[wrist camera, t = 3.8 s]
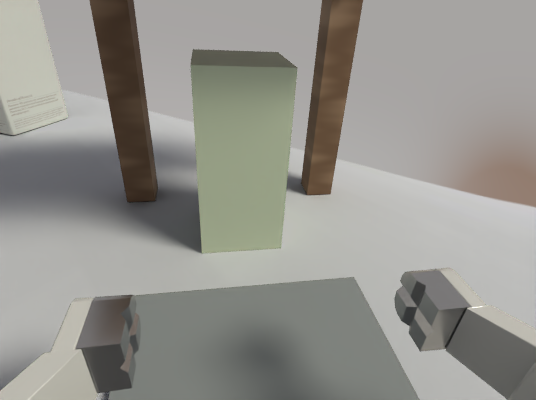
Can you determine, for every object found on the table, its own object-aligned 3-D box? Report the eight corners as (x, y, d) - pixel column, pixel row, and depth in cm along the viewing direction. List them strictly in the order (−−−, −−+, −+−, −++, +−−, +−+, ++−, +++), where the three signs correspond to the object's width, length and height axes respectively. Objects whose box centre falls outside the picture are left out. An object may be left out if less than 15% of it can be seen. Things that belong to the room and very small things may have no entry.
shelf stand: (91, 304, 17) (-64, -201, 8) (132, 189, 27) (82, -95, 18) (384, 279, 20) (509, -123, 11) (323, 182, 30) (361, -68, 21)
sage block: (201, 253, 21) (190, 65, 15) (201, 209, 25) (192, 49, 20) (280, 248, 22) (297, 67, 16) (268, 206, 26) (277, 52, 21)
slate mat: (70, 585, 9) (66, 581, 9) (132, 301, 18) (131, 295, 17) (466, 501, 11) (471, 496, 11) (352, 282, 20) (353, 277, 19)
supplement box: (71, 118, 41) (40, -4, 35) (12, 137, 35) (-38, -6, 29) (25, 109, 43) (-12, -8, 37) (-38, 126, 37) (-95, -11, 31)
